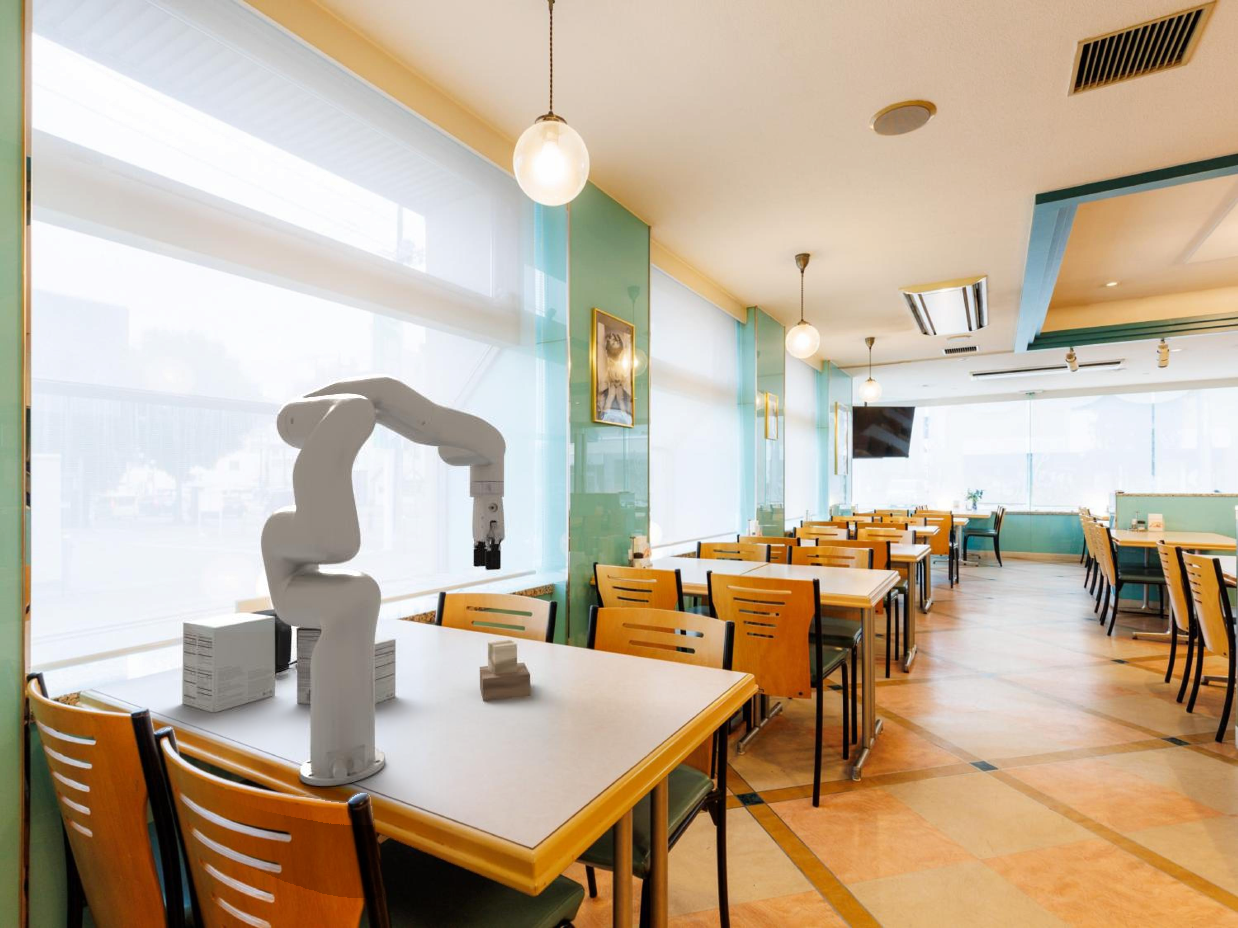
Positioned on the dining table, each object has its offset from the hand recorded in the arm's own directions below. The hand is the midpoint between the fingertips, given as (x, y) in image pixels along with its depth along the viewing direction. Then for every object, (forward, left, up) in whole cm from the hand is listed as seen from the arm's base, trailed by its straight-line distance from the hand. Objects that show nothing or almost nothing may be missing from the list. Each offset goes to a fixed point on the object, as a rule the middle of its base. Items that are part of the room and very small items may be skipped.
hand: (486, 567), depth 142 cm
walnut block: (-1, -3, -28) cm, 28 cm away
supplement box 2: (+10, +23, -28) cm, 37 cm away
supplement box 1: (+27, +50, -28) cm, 63 cm away
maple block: (-1, -3, -23) cm, 23 cm away
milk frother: (+51, +38, -28) cm, 69 cm away
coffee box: (+17, +32, -28) cm, 45 cm away
